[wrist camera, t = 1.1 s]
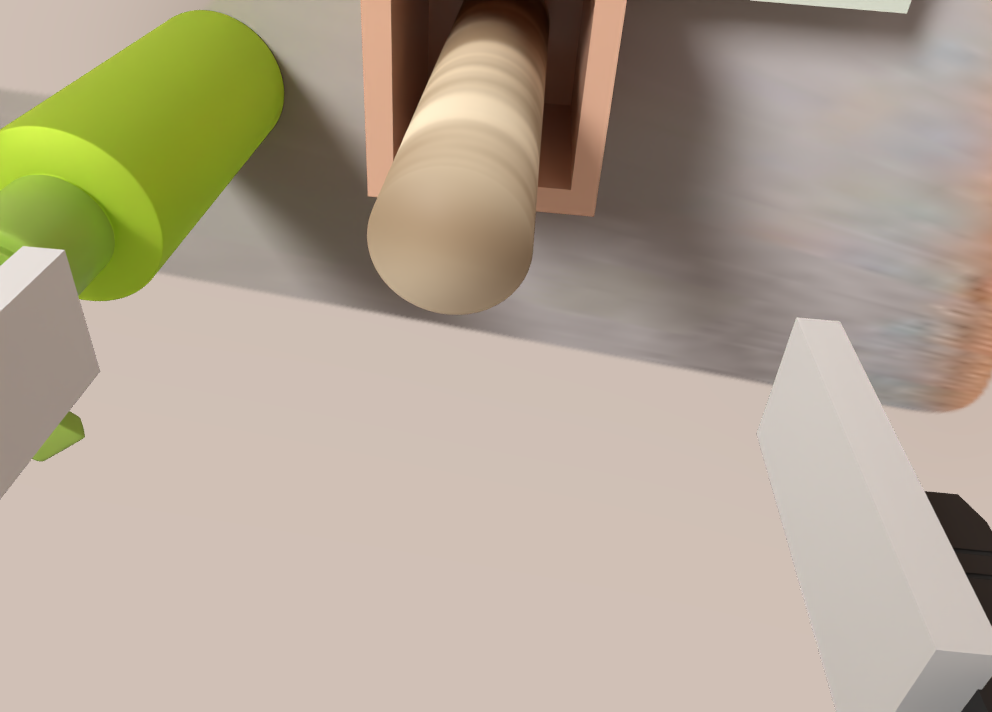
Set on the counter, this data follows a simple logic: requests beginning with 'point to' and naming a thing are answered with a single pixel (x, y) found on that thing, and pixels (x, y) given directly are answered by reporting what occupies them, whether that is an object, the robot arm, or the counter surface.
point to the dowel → (468, 166)
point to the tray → (854, 4)
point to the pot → (567, 100)
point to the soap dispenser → (136, 157)
